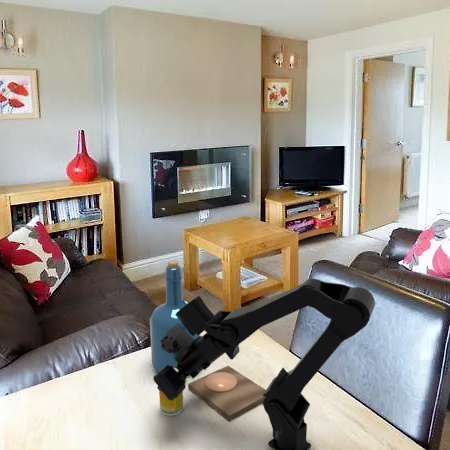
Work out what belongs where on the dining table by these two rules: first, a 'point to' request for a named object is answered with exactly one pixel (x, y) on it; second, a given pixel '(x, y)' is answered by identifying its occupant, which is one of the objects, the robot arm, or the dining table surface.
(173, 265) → the wine bottle
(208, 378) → the coaster
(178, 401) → the supplement bottle
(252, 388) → the walnut board
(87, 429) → the dining table surface
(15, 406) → the dining table surface
